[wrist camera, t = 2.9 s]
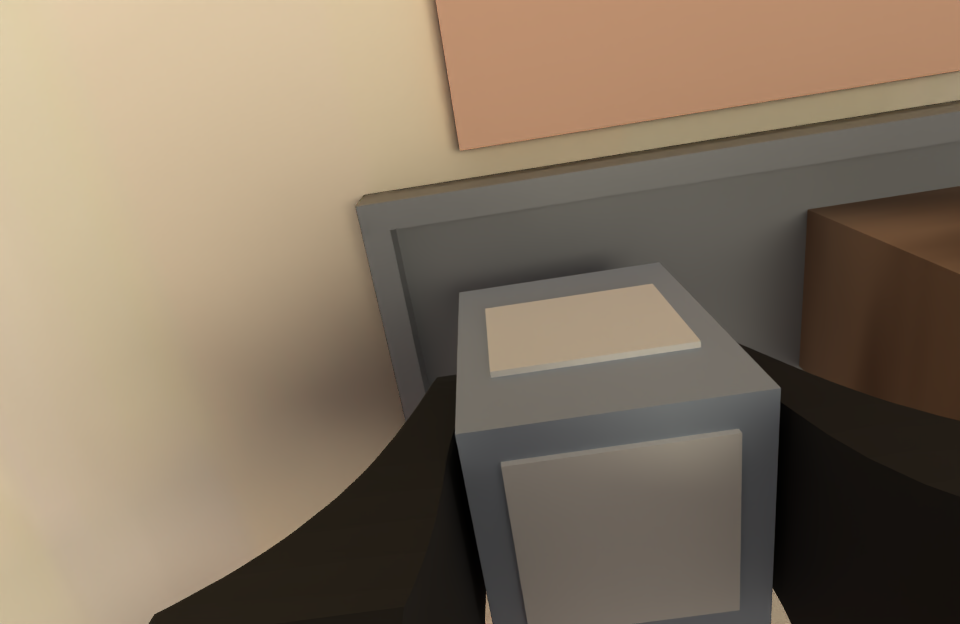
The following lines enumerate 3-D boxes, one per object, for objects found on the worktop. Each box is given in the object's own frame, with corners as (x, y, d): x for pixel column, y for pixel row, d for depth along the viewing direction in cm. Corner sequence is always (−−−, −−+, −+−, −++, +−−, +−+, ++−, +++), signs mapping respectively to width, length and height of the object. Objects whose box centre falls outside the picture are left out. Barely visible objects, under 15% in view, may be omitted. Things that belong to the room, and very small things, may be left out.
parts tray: (1071, 82, 13) (1128, 84, 12) (1009, 386, 16) (1050, 411, 15) (363, 195, 14) (355, 206, 13) (426, 470, 17) (424, 499, 15)
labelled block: (659, 257, 12) (785, 384, 7) (666, 432, 13) (774, 630, 9) (458, 287, 12) (453, 432, 7) (488, 457, 14) (500, 665, 9)
